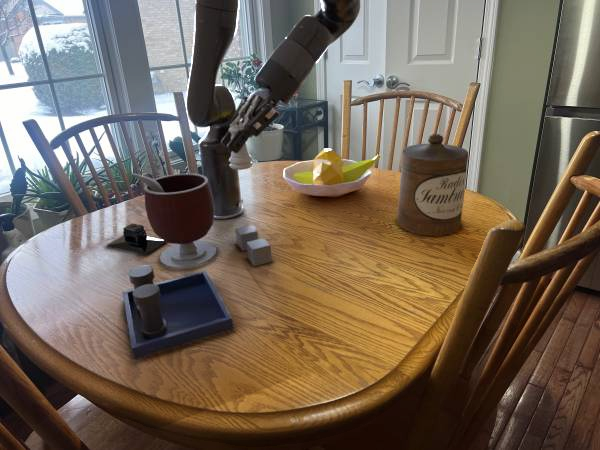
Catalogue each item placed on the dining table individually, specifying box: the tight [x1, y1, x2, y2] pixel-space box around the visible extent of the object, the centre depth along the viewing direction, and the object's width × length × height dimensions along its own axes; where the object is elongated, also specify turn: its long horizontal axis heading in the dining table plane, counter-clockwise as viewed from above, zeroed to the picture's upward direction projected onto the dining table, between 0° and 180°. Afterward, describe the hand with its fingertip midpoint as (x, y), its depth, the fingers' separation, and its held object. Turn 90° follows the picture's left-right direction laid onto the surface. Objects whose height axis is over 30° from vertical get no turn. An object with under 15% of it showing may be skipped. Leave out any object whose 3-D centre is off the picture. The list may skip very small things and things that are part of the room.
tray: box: [121, 270, 234, 360], centre depth 76 cm, size 18×16×3 cm
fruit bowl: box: [282, 148, 381, 198], centre depth 130 cm, size 28×27×11 cm
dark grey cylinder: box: [133, 283, 168, 340], centre depth 70 cm, size 4×4×8 cm
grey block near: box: [246, 237, 273, 267], centre depth 93 cm, size 4×4×4 cm
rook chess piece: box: [229, 123, 254, 171], centre depth 80 cm, size 4×4×8 cm
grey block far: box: [234, 224, 259, 252], centre depth 100 cm, size 4×4×4 cm
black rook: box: [128, 264, 161, 315], centre depth 76 cm, size 4×4×8 cm
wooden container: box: [397, 133, 469, 237], centre depth 103 cm, size 15×15×22 cm
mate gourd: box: [130, 172, 217, 268], centre depth 93 cm, size 16×14×20 cm
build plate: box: [106, 223, 167, 256], centre depth 103 cm, size 12×7×5 cm, turn 65°
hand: (228, 147), depth 80 cm, fingers closed on rook chess piece, 3 cm apart
